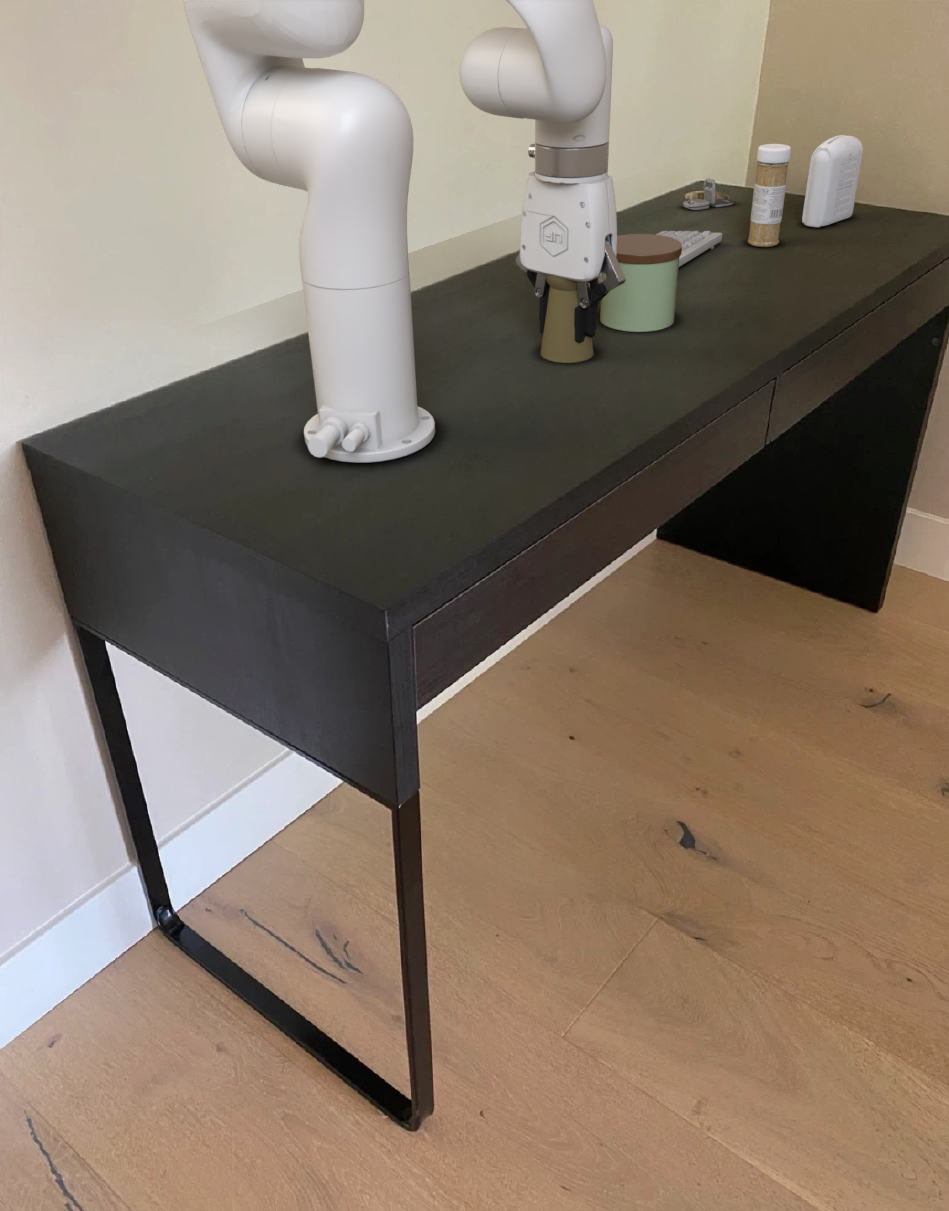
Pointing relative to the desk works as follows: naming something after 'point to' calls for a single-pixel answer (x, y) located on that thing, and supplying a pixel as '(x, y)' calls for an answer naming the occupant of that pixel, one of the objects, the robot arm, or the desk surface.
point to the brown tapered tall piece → (563, 324)
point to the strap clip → (707, 199)
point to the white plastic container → (832, 181)
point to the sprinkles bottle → (769, 194)
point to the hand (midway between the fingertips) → (567, 333)
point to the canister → (643, 284)
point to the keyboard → (692, 243)
